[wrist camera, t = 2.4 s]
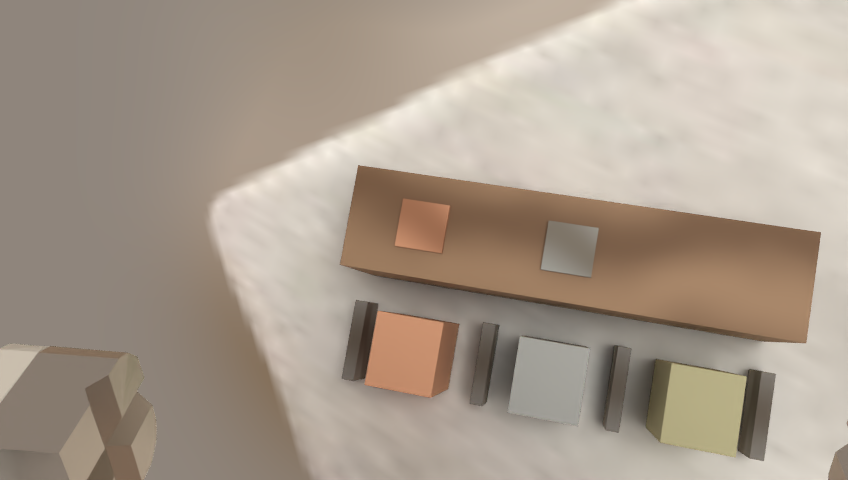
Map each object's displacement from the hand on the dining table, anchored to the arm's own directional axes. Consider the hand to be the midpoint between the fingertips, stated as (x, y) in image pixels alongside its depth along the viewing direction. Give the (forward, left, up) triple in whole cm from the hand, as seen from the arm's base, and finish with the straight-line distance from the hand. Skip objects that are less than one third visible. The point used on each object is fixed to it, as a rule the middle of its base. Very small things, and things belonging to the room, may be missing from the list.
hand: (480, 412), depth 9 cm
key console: (+2, -2, -46) cm, 46 cm away
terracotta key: (+2, +8, -46) cm, 46 cm away
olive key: (-6, -7, -46) cm, 47 cm away
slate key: (-2, 0, -46) cm, 46 cm away
